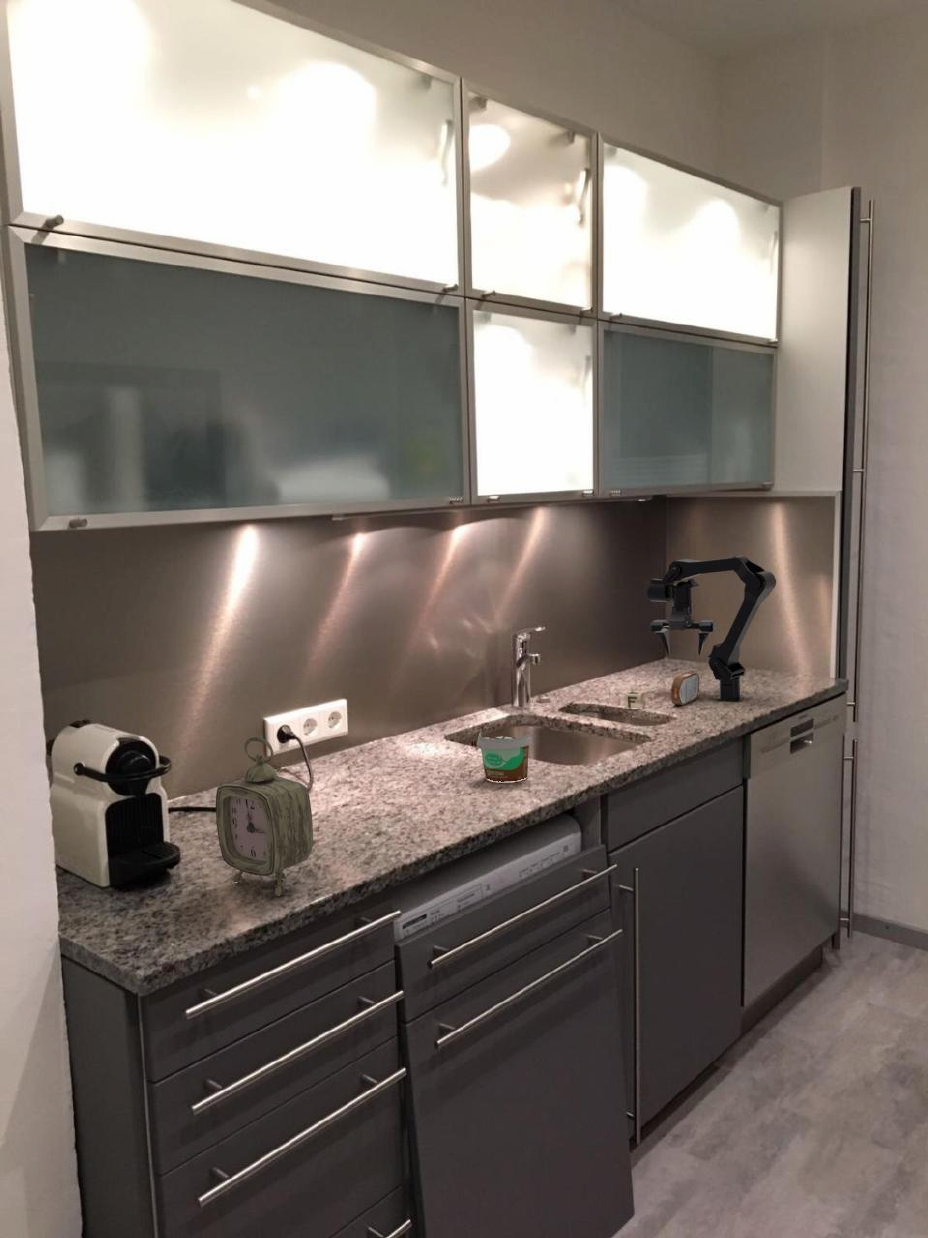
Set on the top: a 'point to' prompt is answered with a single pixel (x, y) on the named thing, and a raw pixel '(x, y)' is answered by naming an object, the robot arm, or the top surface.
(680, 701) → the tin
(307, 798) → the tabletop clock
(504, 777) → the food container
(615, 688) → the top surface
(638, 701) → the letter cube
